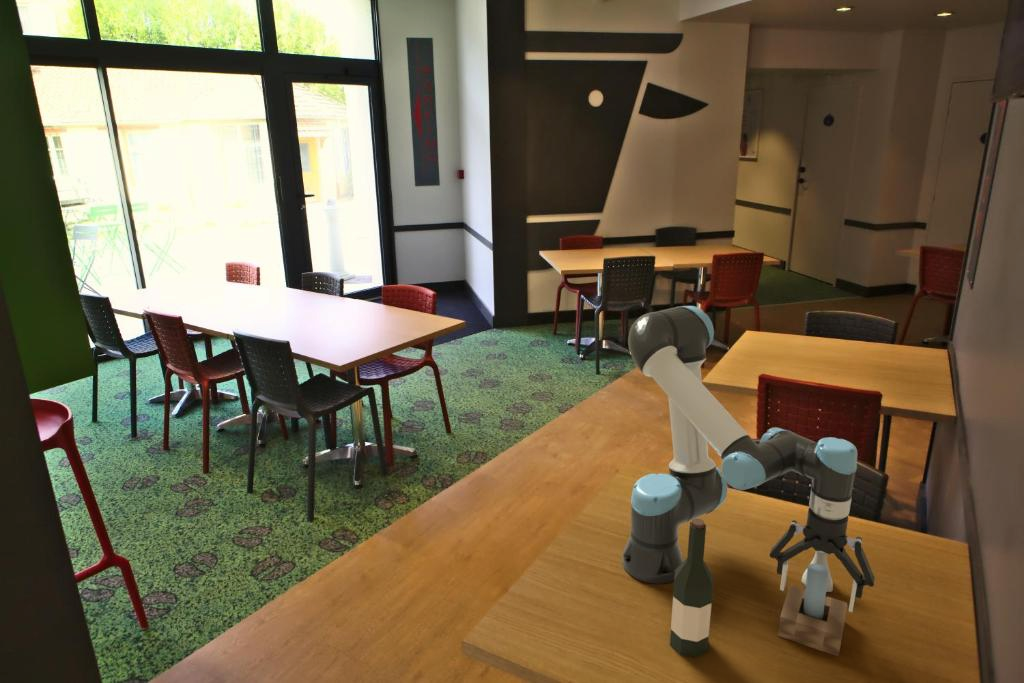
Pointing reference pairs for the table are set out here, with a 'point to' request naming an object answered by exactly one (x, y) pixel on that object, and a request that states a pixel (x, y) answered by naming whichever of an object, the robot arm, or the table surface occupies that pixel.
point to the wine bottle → (692, 597)
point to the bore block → (812, 622)
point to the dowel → (815, 591)
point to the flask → (822, 560)
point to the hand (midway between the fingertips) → (816, 597)
